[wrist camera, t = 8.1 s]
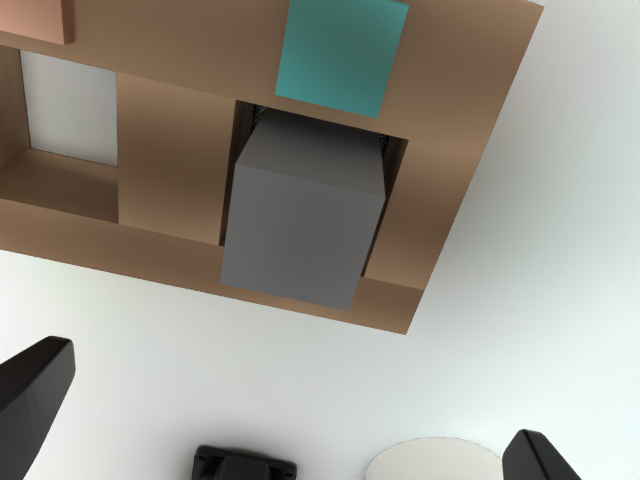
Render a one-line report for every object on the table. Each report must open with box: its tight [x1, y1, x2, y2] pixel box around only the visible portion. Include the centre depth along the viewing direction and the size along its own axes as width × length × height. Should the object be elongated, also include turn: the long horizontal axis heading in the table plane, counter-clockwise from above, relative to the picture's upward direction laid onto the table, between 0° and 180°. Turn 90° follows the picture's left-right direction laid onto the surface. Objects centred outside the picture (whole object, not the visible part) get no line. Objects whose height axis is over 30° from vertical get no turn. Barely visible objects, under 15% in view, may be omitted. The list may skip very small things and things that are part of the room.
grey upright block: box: [220, 107, 385, 311], centre depth 17 cm, size 4×4×7 cm
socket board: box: [0, 0, 544, 335], centre depth 17 cm, size 12×18×5 cm, turn 78°
